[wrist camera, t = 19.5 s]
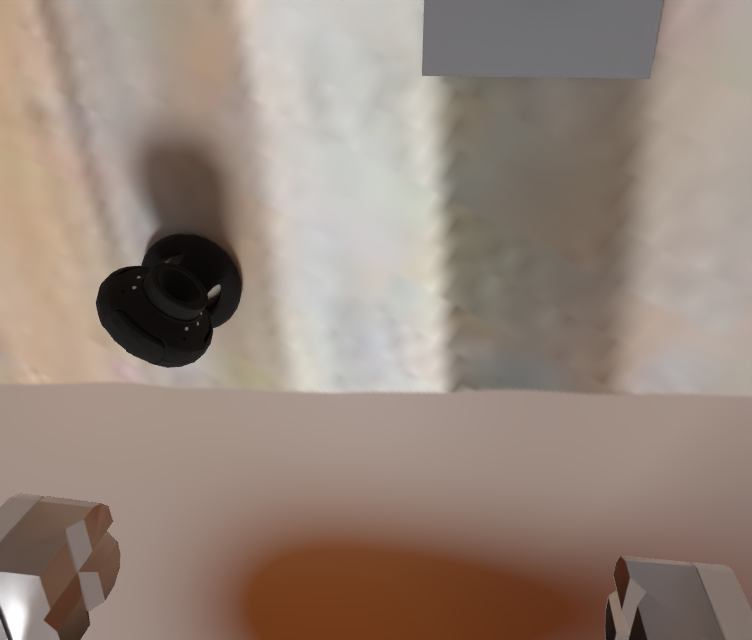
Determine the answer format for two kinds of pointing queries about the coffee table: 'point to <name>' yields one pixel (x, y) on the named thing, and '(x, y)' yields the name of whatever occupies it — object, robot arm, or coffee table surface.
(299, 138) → the coffee table surface
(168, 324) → the webcam
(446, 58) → the pad
